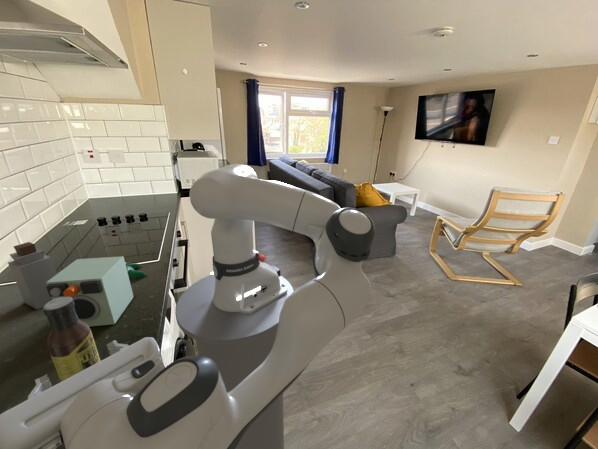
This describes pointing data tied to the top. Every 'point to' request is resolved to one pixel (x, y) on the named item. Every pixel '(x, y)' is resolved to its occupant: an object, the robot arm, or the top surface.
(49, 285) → the washer
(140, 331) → the top surface
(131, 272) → the gaming controller
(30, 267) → the perfume bottle
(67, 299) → the sauce bottle
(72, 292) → the button
